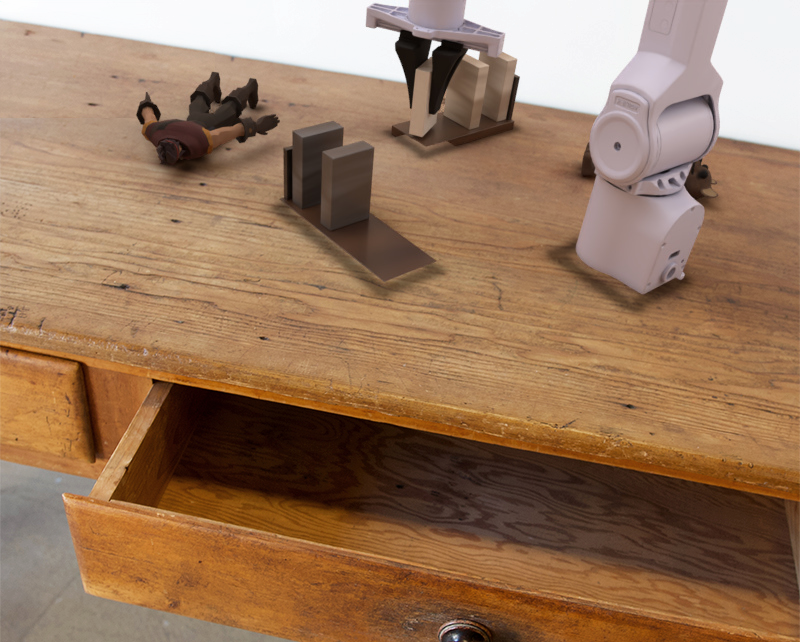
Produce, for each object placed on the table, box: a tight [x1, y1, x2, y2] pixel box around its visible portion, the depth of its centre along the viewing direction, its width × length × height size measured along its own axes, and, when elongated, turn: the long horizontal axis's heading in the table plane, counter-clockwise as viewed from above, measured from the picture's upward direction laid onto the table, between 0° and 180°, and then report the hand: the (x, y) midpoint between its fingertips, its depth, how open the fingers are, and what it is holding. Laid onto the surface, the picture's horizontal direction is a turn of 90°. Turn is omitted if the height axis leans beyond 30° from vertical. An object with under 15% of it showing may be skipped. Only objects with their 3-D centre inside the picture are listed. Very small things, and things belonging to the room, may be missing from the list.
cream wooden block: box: [409, 56, 439, 137], centre depth 83 cm, size 2×4×7 cm, turn 158°
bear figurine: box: [580, 141, 719, 200], centre depth 82 cm, size 18×4×14 cm
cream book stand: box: [390, 51, 521, 148], centre depth 86 cm, size 6×14×8 cm, turn 130°
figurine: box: [135, 71, 281, 166], centre depth 80 cm, size 15×4×20 cm
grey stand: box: [278, 120, 437, 283], centre depth 68 cm, size 16×6×8 cm, turn 40°
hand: (424, 108), depth 84 cm, fingers closed on cream wooden block, 1 cm apart
